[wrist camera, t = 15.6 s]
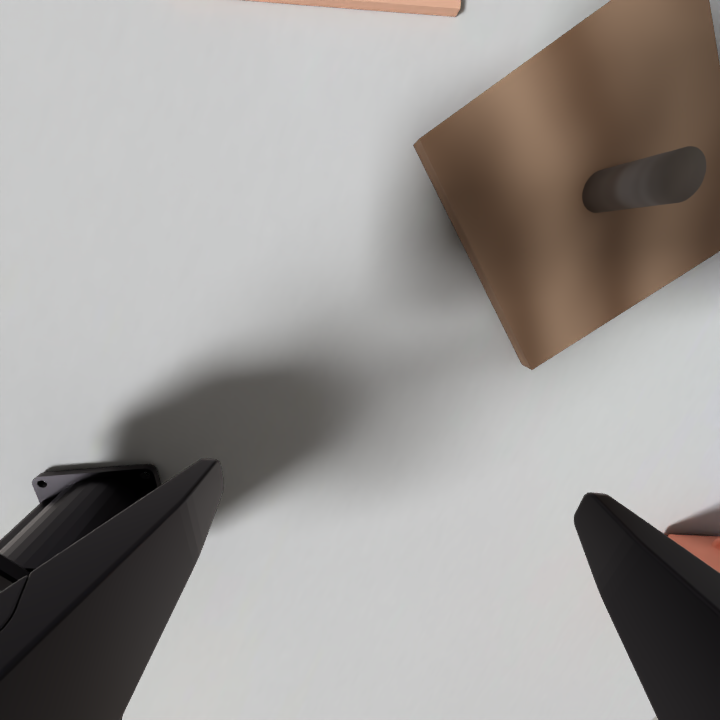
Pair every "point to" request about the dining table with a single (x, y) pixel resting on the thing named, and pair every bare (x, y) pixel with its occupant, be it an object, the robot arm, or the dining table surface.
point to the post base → (588, 171)
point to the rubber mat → (386, 5)
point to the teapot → (701, 547)
